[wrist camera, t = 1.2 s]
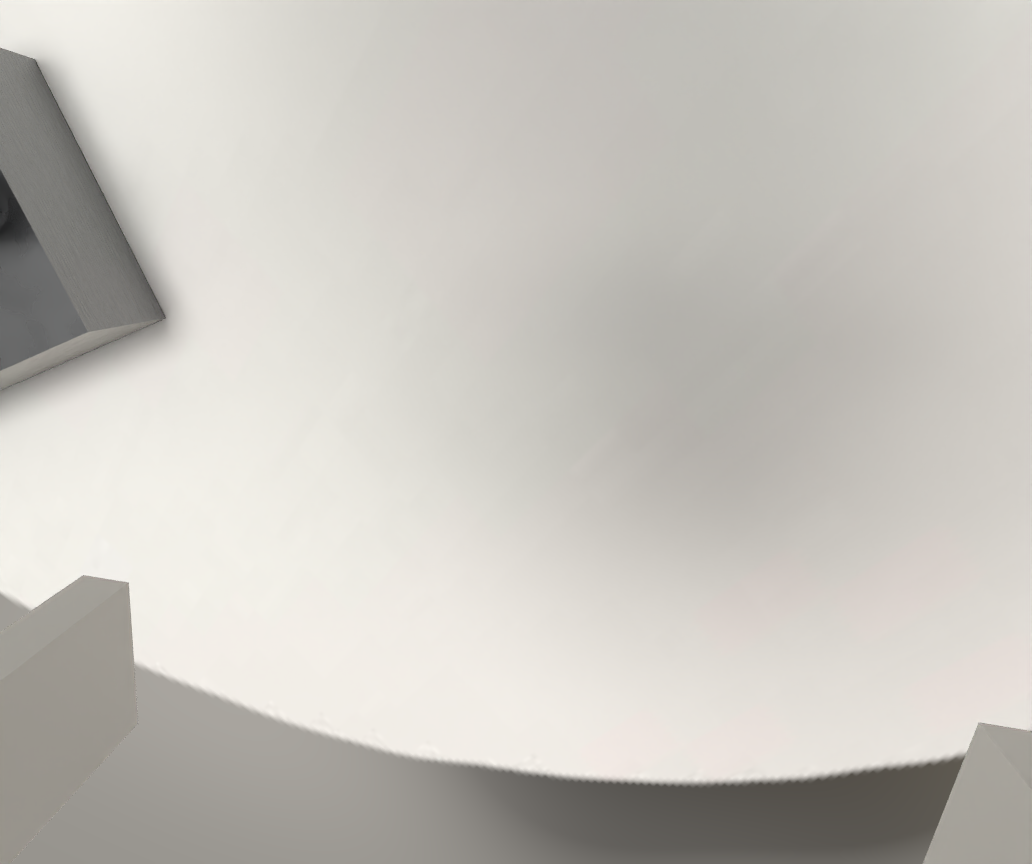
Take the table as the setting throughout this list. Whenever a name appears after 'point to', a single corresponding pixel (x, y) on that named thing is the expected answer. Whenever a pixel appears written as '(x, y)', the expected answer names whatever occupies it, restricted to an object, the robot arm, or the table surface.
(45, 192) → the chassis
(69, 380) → the table surface
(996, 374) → the table surface
